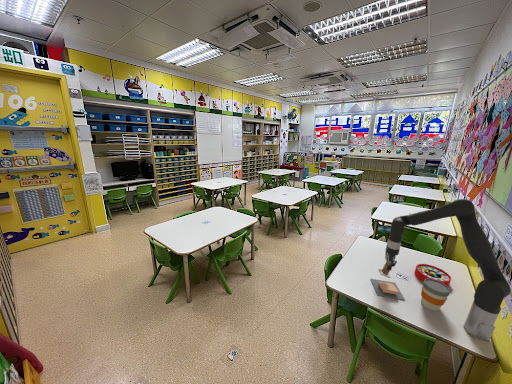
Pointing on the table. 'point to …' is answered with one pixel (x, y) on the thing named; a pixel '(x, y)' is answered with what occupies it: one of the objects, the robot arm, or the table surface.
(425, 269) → the toy clock
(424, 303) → the reusable coffee cup
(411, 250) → the table surface
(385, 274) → the scraper
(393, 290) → the tile
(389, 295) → the mat
